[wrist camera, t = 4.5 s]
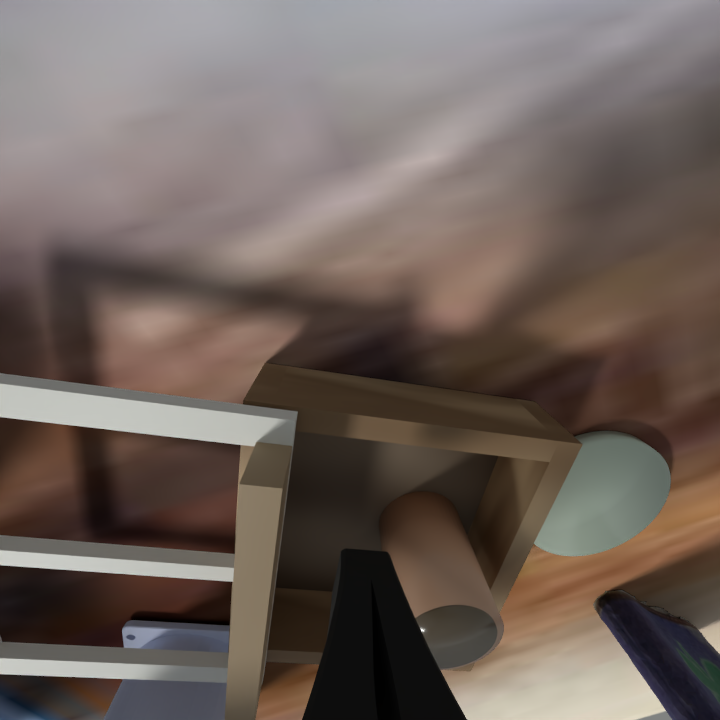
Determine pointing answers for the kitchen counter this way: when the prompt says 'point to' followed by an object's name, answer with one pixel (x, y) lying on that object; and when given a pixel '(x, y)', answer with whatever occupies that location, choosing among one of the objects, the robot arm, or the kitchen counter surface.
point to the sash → (244, 568)
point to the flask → (666, 655)
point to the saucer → (606, 495)
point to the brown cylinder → (441, 578)
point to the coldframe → (399, 481)
